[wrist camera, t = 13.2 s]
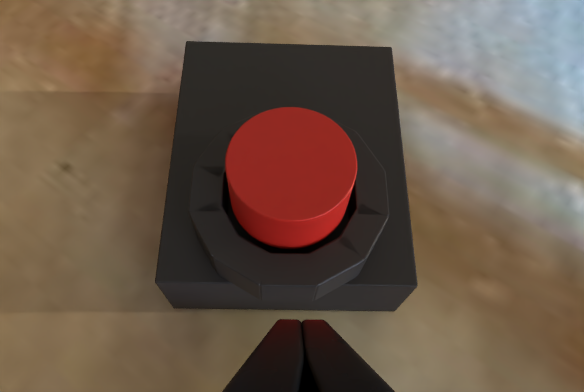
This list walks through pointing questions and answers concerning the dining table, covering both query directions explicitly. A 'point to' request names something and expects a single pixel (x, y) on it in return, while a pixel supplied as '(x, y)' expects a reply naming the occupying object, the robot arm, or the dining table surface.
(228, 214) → the power block
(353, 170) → the power button
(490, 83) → the dining table surface
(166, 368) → the dining table surface
